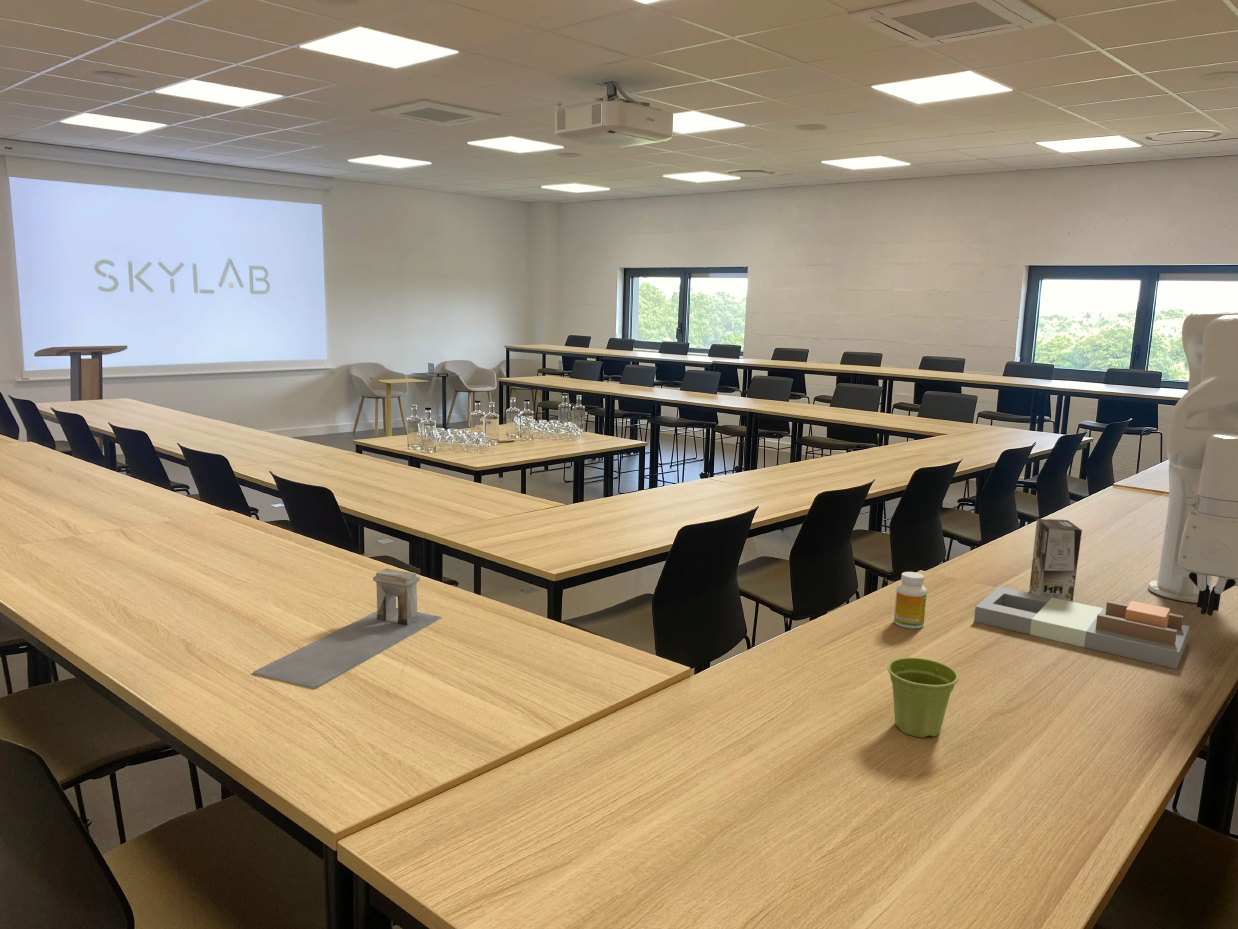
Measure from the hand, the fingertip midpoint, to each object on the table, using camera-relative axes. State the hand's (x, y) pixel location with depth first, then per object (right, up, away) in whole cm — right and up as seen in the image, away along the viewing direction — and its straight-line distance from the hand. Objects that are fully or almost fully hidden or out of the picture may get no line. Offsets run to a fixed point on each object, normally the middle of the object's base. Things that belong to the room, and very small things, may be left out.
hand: (1206, 612), depth 147 cm
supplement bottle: (-46, -5, +15) cm, 49 cm away
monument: (-146, -6, 0) cm, 146 cm away
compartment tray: (-15, -6, +14) cm, 21 cm away
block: (-6, -4, +7) cm, 10 cm away
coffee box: (-11, -3, +32) cm, 34 cm away
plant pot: (-58, -12, -25) cm, 65 cm away
